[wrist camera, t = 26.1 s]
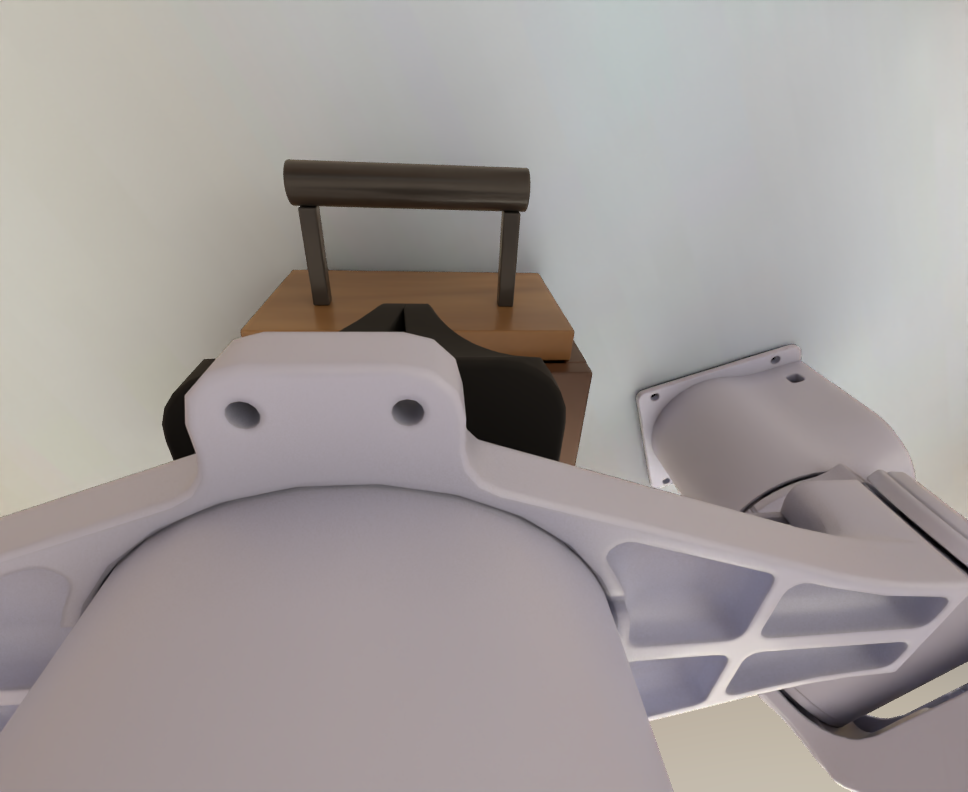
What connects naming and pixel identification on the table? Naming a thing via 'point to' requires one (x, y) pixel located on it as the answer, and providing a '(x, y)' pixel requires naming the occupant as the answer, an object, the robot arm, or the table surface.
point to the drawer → (453, 295)
